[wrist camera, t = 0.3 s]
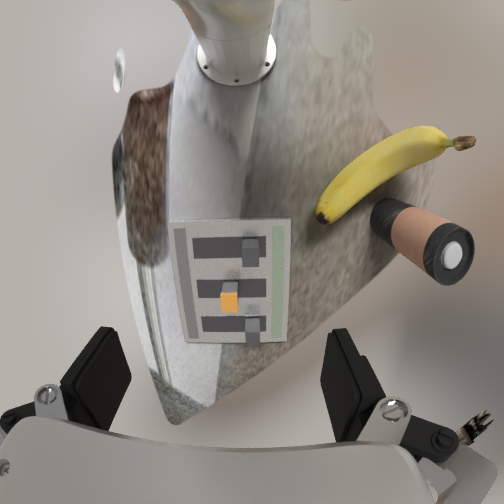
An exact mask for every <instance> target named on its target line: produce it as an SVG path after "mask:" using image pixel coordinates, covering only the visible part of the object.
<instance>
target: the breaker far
mask: <svg viewBox="0 0 504 504" xmlns="http://www.w3.org/2000/svg"><path fill="white" fill-rule="evenodd" d="M245 340H246V346H260V321H259V318H246V321H245Z"/></svg>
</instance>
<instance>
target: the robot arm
mask: <svg viewBox="0 0 504 504" xmlns="http://www.w3.org/2000/svg"><path fill="white" fill-rule="evenodd" d="M173 1H174V2H176V3H177V4H178V5H179V7H180V8H181V9H182V11H183V12H184V14H185V16H186V17H187V19H188V21H189V23H190V25H191V28H192V30H193V31H194V33H195V35H196V37H197V39H198V41H199V45H198V47H197V61H198V64H199V66H200V68H201V70H202V71H203V72H204V73H205V75H206V76H208V77H209V78H210V79H212V80H213V81H215V82H217V83H220V84H223V85H228V86H242V85H247V84H250V83H254V82H256V81H258V80H259V79H261V78H262V77H264V76H265V75H266V74H267V73H268V72H269V71H270V70H271V68H272V66H273V65H274V62H275V59H276V54H277V52H276V44H275V41H274V39H273V37H272V36H271V35H270V29H271V24H272V18H273V12H274V0H173ZM343 1H349V0H343ZM266 65H269V66H268V67H266ZM206 67H208V69H205V68H206ZM236 80H238V81H239V82H235V81H236ZM130 382H131V372H130V369H129V366H128V364H127V361H126V358H125V355H124V352H123V349H122V346H121V343H120V340H119V337H118V333H117V332H116V331H114V329H113V328H111V327H100V328H99V329H98V331H97V332H96V333H95V334H94V336H93V337H92V338H91V340H90V341H89V342H88V344H87V345H86V346H85V348H84V349H83V350H82V352H81V353H80V355H79V356H78V357H77V358H76V360H75V361H74V363H73V364H72V365H71V367H70V368H69V369H68V371H67V372H66V374H65V375H64V376H63V378H62V379H61V381H60V383H61V385H60V387H58V386H57V385H54V384H47V385H44V386H42V387H40V388H39V389H38V390H37V391H36V393H35V395H34V402H32V403H28V404H25V405H22V406H19V407H16V408H13V409H10V410H8V411H6V412H5V413H4V414H3V415H2V416H1V419H0V504H435V502H434V499H433V496H432V494H431V491H430V488H429V486H428V483H427V481H426V479H427V480H428V481H430V482H431V483H430V485H431V486H432V487H434V488H435V489H436V491H437V493H438V500H437V502H436V504H480V503H481V502H482V500H483V499H484V497H485V495H486V494H487V493H488V491H489V490H490V488H491V486H492V485H493V483H494V481H495V479H496V477H497V467H496V465H495V464H494V463H493V462H491V461H490V460H488V459H487V458H485V457H483V456H482V455H481V454H479V453H477V452H476V451H474V450H473V449H471V448H470V447H468V446H467V445H465V444H464V446H461V445H460V444H459V438H458V436H457V434H456V433H455V432H454V431H453V430H451V429H449V428H447V427H443V426H441V425H438V424H435V423H432V422H429V421H426V420H424V419H421V418H418V417H416V416H413V415H411V413H412V410H411V406H410V405H409V403H408V402H407V401H405V400H404V399H402V398H400V397H395V396H393V397H392V396H391V397H386V395H385V393H384V391H383V389H382V387H381V385H380V383H379V381H378V379H377V377H376V375H375V373H374V371H373V369H372V367H371V365H370V363H369V361H368V359H367V358H366V356H364V355H363V356H360V354H359V352H358V350H357V348H356V346H355V344H354V343H353V340H352V339H351V336H350V334H349V333H348V331H347V329H346V328H342V329H333V331H332V333H328V337H327V343H326V349H325V355H324V362H323V367H322V372H321V378H320V382H321V387H322V390H323V394H324V398H325V402H326V405H327V409H328V413H329V417H330V420H331V424H332V428H333V432H334V436H335V440H336V442H337V443H327V444H317V445H307V446H294V447H276V448H221V447H204V446H203V447H202V446H192V445H182V444H174V443H167V442H159V441H154V440H147V439H141V438H137V437H132V436H127V435H122V434H118V433H114V432H109V431H108V430H109V428H110V426H111V424H112V421H113V419H114V417H115V414H116V412H117V410H118V408H119V406H120V403H121V401H122V399H123V397H124V394H125V392H126V390H127V388H128V386H129V384H130Z"/></svg>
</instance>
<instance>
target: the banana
mask: <svg viewBox="0 0 504 504" xmlns="http://www.w3.org/2000/svg"><path fill="white" fill-rule="evenodd" d="M475 142H476V137H475V136H461V137H457V138H455V139H450V138H448V137H447V136H446V135H445V134H444V133H442V132H441V131H440V130H439V129H437V128H435V127H432V126H417V127H413V128H409V129H406V130H403V131H401V132H398V133H396V134H394V135H392V136H390V137H388V138H386V139H384V140H383V141H381V142H379V143H377V144H376V145H374V146H373V147H371V148H369V149H368V150H366V151H365V152H364V153H362V154H361V155H359V156H358V157H357V158H356V159H354V160H353V161H352V162H351V163H350V164H348V165H347V166H346V167H345V168H344V169H343V170H342V171H341V172H340V173H339V174H338V175H337V176H336V177H335V178H334V179H333V180H332V182H331V183H330V184H329V185H328V186H327V188H326V189H325V190H324V192H323V193H322V195H321V196H320V198H319V200H318V202H317V205H316V209H315V214H316V219H317V220H318V222H319V223H321V224H324V225H325V224H330V223H333V222H334V221H336V220H337V219H339V218H340V217H341V216H343V215H344V214H345V213H346V212H347V211H348V210H349V209H350V208H352V207H353V206H354V205H355V204H356V203H358V202H359V201H360V200H361V199H362V198H364V197H365V196H366V195H368V194H369V193H370V192H372V191H373V190H374V189H376V188H377V187H378V186H380V185H381V184H383V183H384V182H386V181H387V180H389V179H390V178H392V177H394V176H395V175H397V174H399V173H401V172H403V171H405V170H407V169H410V168H412V167H414V166H417V165H419V164H422V163H424V162H427V161H429V160H432V159H434V158H436V157H438V156H440V155H441V154H442V153H443V152H444V151H445V149H446V148H448V147H455V149H456V150H458V151H462V150H465V149H468V148H471V147H472V146H474V145H475Z"/></svg>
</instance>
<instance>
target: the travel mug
mask: <svg viewBox="0 0 504 504" xmlns="http://www.w3.org/2000/svg"><path fill="white" fill-rule="evenodd" d="M371 225H372V228H373V230H374V231H375V232H376V233H377V234H378V235H379V236H380V237H381V238H382V239H384V240H385V241H386V242H387V243H389V244H390V245H391V246H392V247H393V248H394V249H396V250H397V251H398V252H399V253H401V254H402V255H403V256H405V257H406V258H407V259H409V260H410V261H411V262H413V263H414V264H416V265H417V266H418V267H419V268H421V269H422V270H423V271H425V272H426V273H427V274H428V275H430V276H431V277H432V278H433V279H435V280H436V281H437V282H438V283H440V284H442V285H446V286H449V285H453V284H455V283H457V282H459V281H460V280H461V279H462V278H463V277H464V276H465V274H466V273H467V272H468V270H469V268H470V266H471V264H472V261H473V258H474V251H475V247H474V240H473V237H472V235H471V233H470V232H469V231H467V230H466V229H464V228H462V227H460V226H458V225H456V224H454V223H452V222H450V221H448V220H446V219H443V218H441V217H439V216H437V215H435V214H432V213H430V212H428V211H426V210H423V209H421V208H419V207H416V206H413V205H410V204H407V203H404V202H401V201H398V200H394V199H384V200H381V201H380V202H378V203H377V204H376V205H375V207H374V208H373V210H372V213H371Z"/></svg>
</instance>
